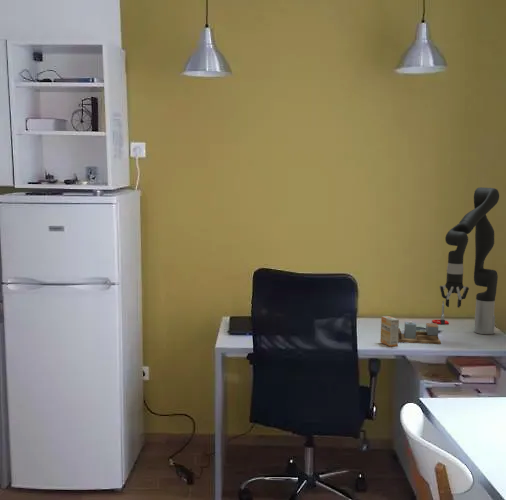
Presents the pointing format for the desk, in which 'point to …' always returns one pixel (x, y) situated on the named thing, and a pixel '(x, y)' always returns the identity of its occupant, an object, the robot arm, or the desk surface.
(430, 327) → the grey cube
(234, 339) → the desk surface
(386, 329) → the supplement box
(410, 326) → the block
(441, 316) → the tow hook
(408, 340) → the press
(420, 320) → the desk surface
